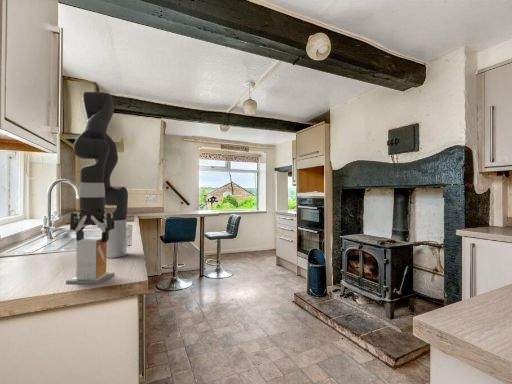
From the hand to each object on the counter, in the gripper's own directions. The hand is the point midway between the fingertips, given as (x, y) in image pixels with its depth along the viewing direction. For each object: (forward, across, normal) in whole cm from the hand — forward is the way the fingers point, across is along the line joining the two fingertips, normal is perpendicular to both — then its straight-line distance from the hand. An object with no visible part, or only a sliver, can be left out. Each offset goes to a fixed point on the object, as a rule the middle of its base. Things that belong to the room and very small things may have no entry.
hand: (92, 242), depth 90 cm
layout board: (+13, 0, 0) cm, 13 cm away
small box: (+12, 0, 0) cm, 12 cm away
